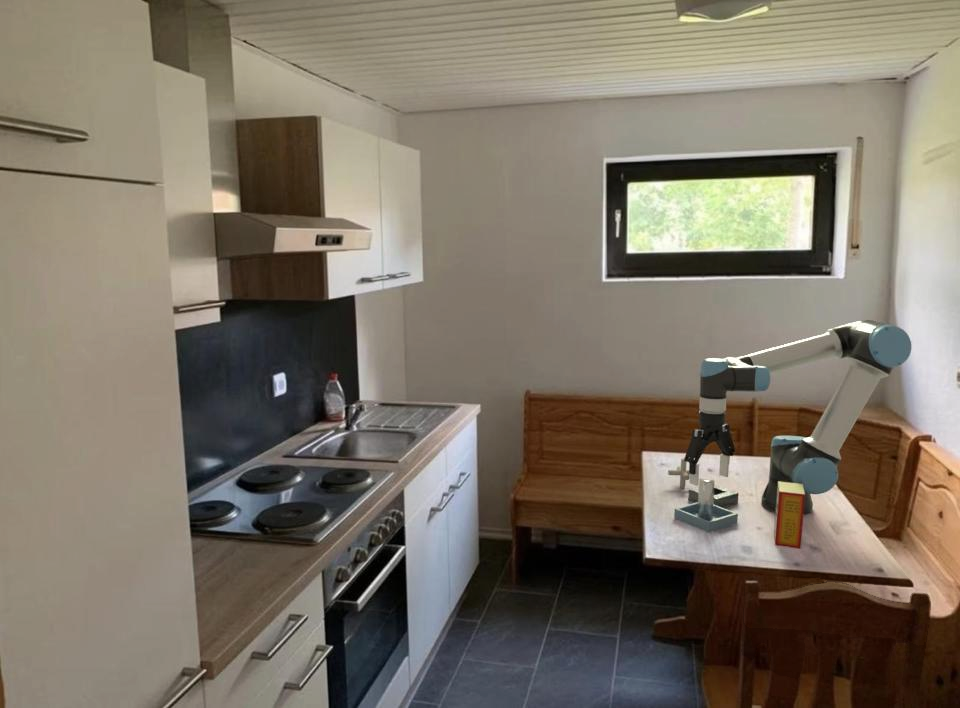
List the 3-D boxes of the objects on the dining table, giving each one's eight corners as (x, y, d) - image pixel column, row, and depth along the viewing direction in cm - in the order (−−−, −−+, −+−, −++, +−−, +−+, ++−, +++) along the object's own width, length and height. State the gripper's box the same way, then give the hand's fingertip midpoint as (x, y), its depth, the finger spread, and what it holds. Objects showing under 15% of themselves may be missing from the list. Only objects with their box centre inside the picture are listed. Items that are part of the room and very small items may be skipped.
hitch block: (737, 503, 235) (738, 492, 234) (715, 509, 229) (716, 499, 228) (710, 493, 244) (710, 483, 243) (688, 499, 238) (688, 489, 237)
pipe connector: (701, 492, 245) (702, 463, 243) (671, 491, 245) (672, 463, 243) (693, 482, 255) (694, 454, 253) (664, 481, 255) (665, 454, 253)
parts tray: (737, 523, 217) (738, 513, 217) (708, 532, 210) (709, 522, 210) (702, 510, 228) (702, 500, 227) (674, 518, 221) (674, 508, 220)
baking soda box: (773, 532, 211) (778, 479, 208) (798, 535, 209) (802, 482, 206) (775, 545, 202) (779, 490, 200) (800, 548, 200) (805, 493, 197)
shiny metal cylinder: (715, 519, 218) (717, 481, 217) (706, 522, 216) (708, 483, 214) (703, 514, 222) (705, 477, 220) (694, 517, 219) (696, 479, 218)
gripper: (728, 403, 224) (725, 469, 227) (673, 414, 210) (670, 484, 213) (749, 407, 218) (745, 475, 221) (694, 419, 204) (691, 491, 207)
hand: (709, 480), depth 217 cm, fingers open, 13 cm apart
